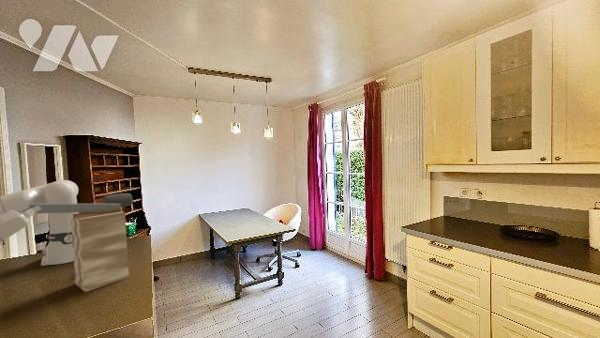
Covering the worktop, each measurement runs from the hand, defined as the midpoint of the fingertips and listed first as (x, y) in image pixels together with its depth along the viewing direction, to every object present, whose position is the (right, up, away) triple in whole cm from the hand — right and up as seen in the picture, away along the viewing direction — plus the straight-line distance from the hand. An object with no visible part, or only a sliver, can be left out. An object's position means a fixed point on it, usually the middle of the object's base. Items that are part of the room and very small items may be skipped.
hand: (38, 206), depth 89 cm
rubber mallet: (-9, -31, +54) cm, 63 cm away
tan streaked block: (+11, -31, +14) cm, 36 cm away
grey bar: (+6, -3, +8) cm, 11 cm away
